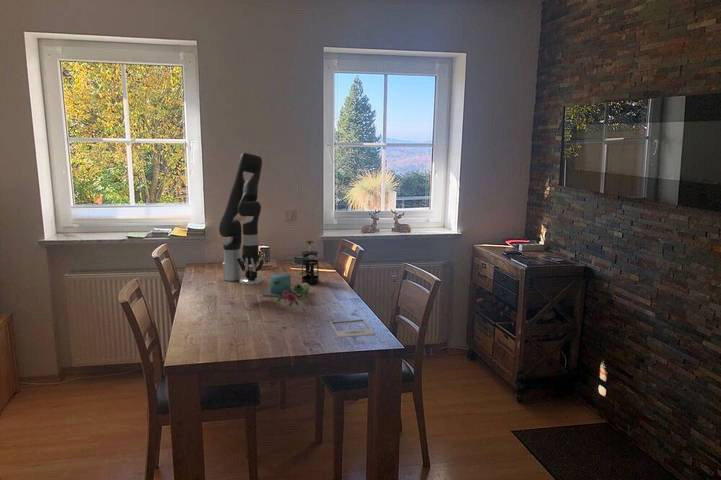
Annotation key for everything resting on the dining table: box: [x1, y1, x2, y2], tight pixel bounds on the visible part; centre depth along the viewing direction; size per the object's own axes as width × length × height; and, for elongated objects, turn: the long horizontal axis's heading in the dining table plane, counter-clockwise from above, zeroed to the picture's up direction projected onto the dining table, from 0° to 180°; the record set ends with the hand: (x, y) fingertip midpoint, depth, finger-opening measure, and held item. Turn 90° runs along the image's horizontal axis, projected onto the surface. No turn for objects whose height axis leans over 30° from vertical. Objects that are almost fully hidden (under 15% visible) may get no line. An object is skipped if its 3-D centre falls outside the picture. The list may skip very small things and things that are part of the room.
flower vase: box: [275, 282, 311, 307], centre depth 258 cm, size 12×12×35 cm
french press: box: [300, 240, 320, 286], centre depth 291 cm, size 12×9×23 cm
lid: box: [239, 270, 264, 286], centre depth 260 cm, size 11×11×5 cm
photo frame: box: [329, 318, 375, 339], centre depth 222 cm, size 15×1×18 cm
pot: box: [262, 273, 295, 298], centre depth 273 cm, size 14×14×9 cm
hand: (251, 278), depth 260 cm, fingers closed on lid, 2 cm apart
